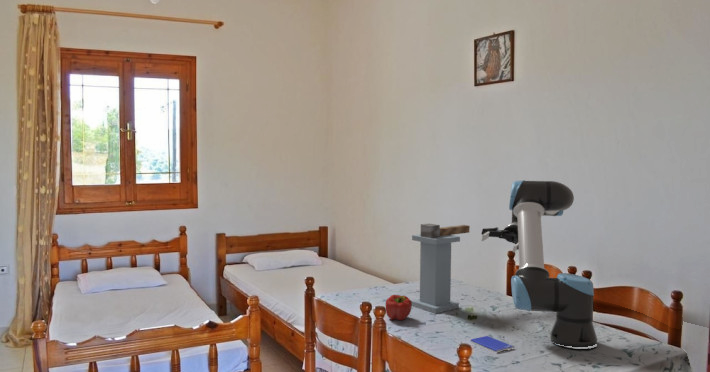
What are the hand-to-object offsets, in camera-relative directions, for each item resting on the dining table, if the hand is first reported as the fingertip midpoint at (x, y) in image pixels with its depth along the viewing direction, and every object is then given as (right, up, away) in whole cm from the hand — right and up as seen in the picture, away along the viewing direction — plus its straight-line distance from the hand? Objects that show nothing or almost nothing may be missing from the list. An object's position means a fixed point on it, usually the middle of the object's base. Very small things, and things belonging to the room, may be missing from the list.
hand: (498, 243), depth 238 cm
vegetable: (-42, -28, -15) cm, 53 cm away
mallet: (-20, +3, +5) cm, 21 cm away
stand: (-26, -27, +3) cm, 37 cm away
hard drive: (-13, -31, -44) cm, 55 cm away
